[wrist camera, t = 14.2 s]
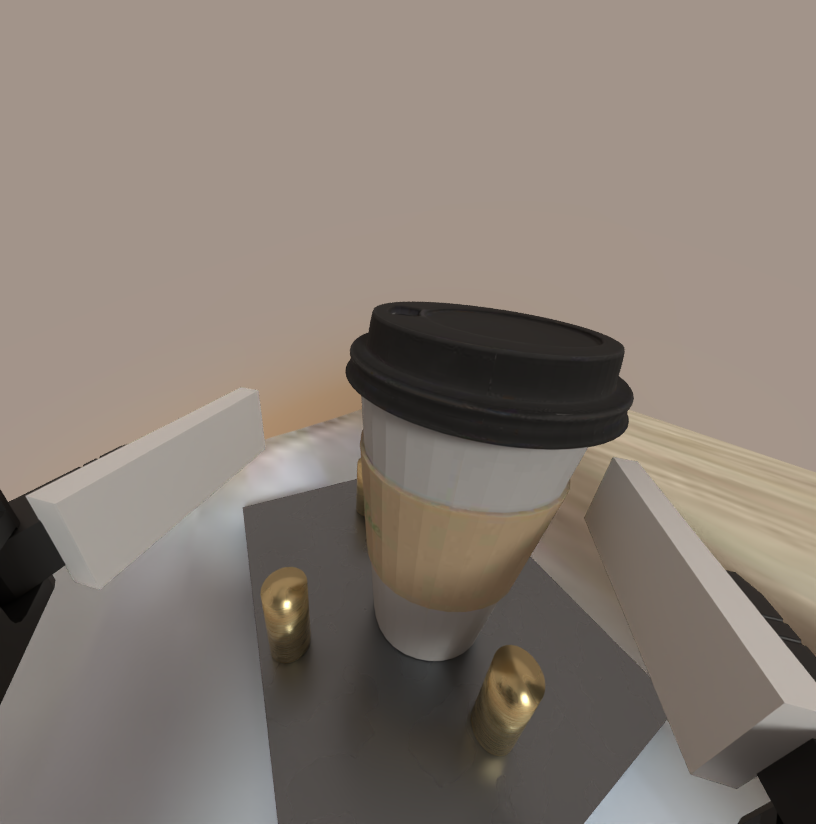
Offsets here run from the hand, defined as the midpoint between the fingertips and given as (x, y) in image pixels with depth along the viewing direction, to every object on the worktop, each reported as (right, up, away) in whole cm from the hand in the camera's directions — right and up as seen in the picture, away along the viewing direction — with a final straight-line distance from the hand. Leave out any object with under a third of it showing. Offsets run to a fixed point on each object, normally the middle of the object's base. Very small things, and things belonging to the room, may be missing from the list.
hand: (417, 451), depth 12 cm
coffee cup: (+1, -9, +5) cm, 10 cm away
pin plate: (0, -10, +7) cm, 12 cm away
